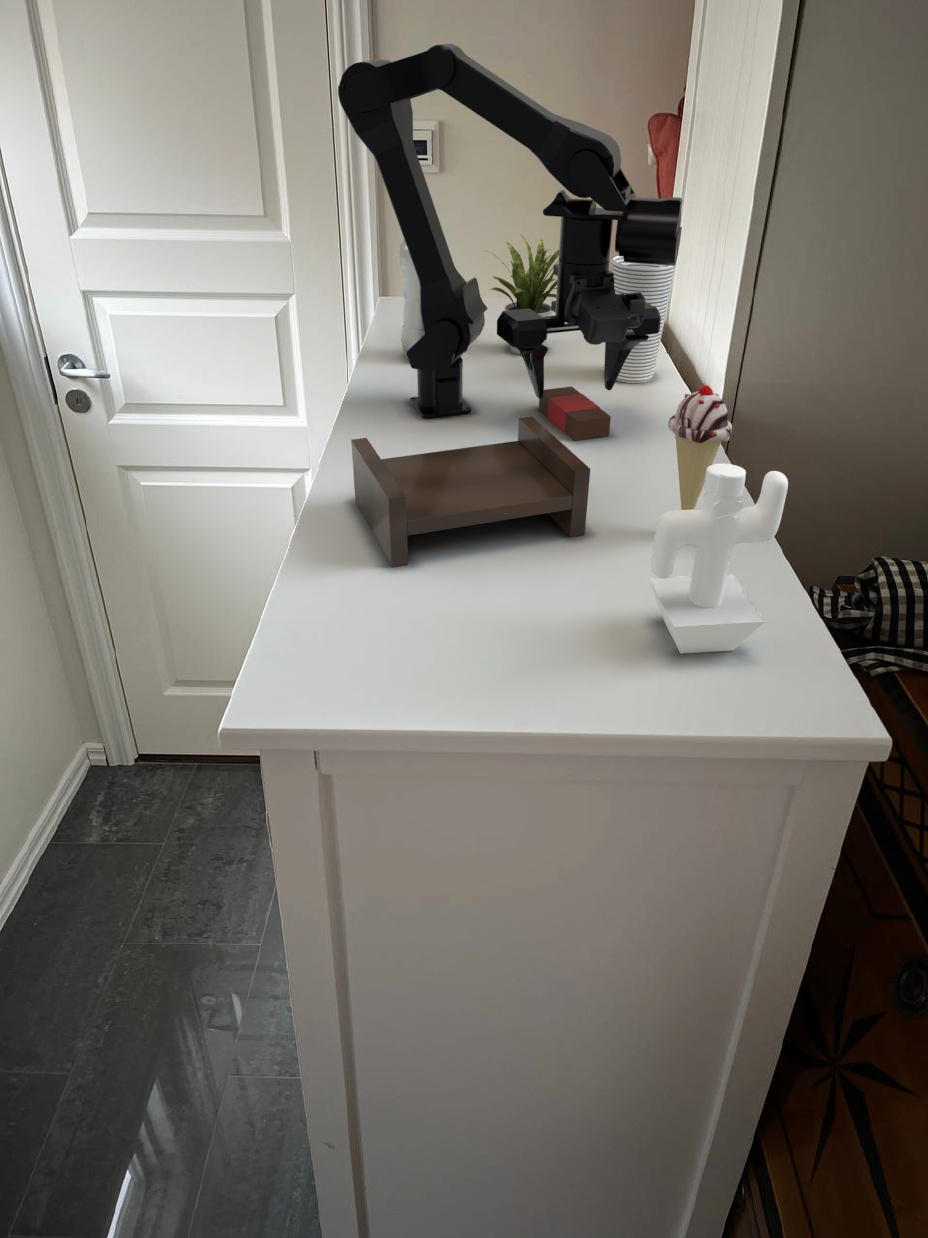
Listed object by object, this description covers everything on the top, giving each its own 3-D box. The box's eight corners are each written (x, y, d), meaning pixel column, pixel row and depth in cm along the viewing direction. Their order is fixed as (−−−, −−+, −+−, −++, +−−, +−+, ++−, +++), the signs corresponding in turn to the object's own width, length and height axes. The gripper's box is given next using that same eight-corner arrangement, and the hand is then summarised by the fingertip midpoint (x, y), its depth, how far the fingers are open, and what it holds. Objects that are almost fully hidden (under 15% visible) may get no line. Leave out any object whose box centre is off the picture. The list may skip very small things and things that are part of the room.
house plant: (599, 346, 141) (609, 231, 132) (557, 371, 131) (564, 249, 122) (517, 331, 147) (521, 220, 138) (471, 353, 137) (472, 236, 128)
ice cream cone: (713, 551, 88) (740, 398, 80) (652, 544, 89) (673, 393, 81) (712, 523, 93) (737, 377, 85) (654, 518, 94) (674, 372, 86)
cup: (614, 362, 134) (625, 249, 126) (670, 372, 131) (685, 257, 122) (590, 379, 128) (600, 262, 120) (649, 390, 125) (663, 270, 116)
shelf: (355, 502, 96) (351, 439, 93) (529, 477, 102) (532, 416, 98) (391, 567, 85) (388, 498, 82) (584, 534, 91) (590, 468, 87)
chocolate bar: (538, 409, 119) (539, 389, 117) (570, 405, 120) (572, 385, 119) (574, 441, 110) (576, 420, 109) (609, 436, 112) (611, 415, 110)
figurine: (630, 615, 79) (651, 450, 71) (738, 609, 80) (771, 446, 71) (654, 666, 73) (679, 492, 65) (770, 659, 74) (809, 486, 65)
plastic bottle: (452, 352, 138) (452, 207, 127) (436, 367, 132) (434, 216, 121) (411, 348, 140) (408, 204, 128) (394, 362, 134) (389, 213, 123)
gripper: (535, 282, 96) (528, 426, 104) (694, 269, 101) (675, 407, 109) (496, 259, 104) (493, 393, 113) (644, 248, 110) (630, 377, 118)
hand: (574, 393), depth 113 cm, fingers open, 9 cm apart
